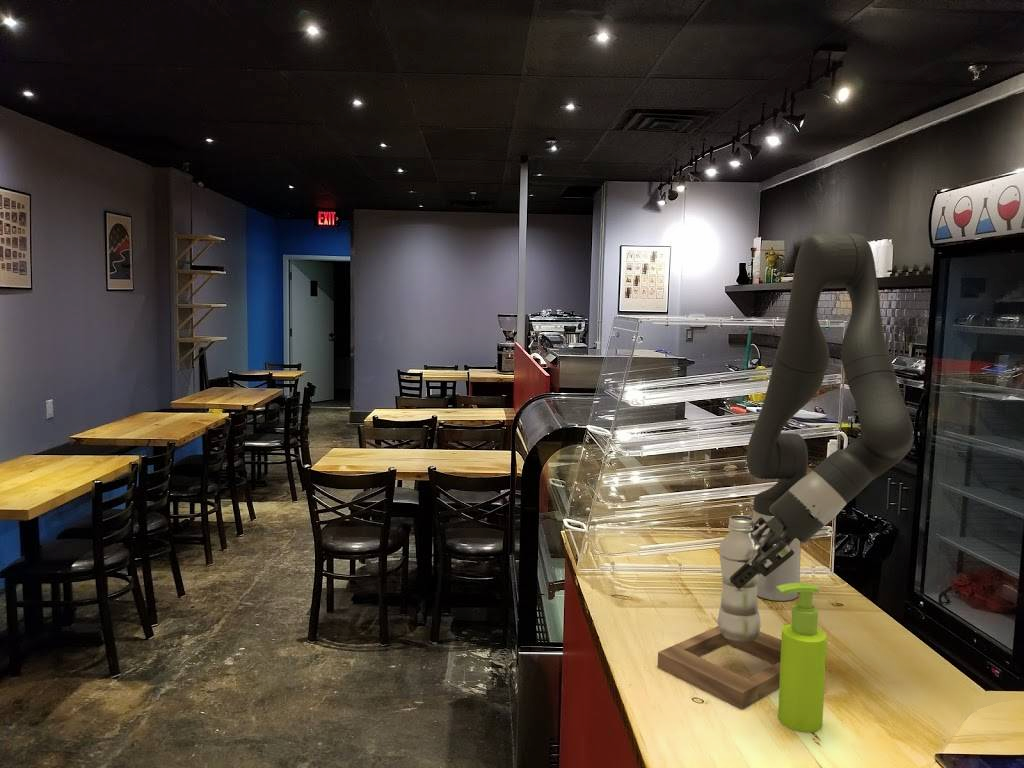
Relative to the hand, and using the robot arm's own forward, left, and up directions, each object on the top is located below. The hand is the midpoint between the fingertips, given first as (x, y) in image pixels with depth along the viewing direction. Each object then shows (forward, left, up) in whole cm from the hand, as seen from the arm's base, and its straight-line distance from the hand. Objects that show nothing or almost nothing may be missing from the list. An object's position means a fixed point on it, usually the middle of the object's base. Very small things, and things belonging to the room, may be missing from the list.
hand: (729, 576), depth 117 cm
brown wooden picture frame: (-1, +1, -15) cm, 15 cm away
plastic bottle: (-1, +1, -10) cm, 11 cm away
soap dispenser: (+5, +16, -15) cm, 23 cm away
